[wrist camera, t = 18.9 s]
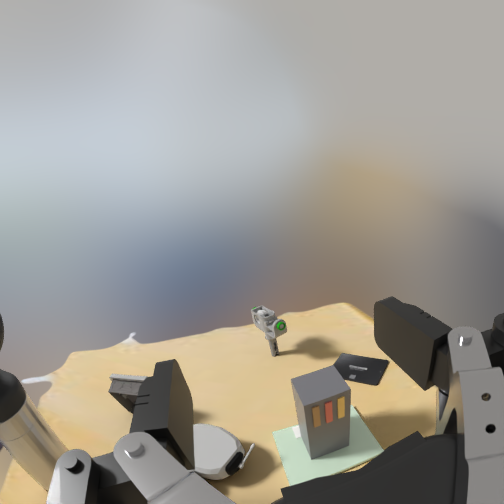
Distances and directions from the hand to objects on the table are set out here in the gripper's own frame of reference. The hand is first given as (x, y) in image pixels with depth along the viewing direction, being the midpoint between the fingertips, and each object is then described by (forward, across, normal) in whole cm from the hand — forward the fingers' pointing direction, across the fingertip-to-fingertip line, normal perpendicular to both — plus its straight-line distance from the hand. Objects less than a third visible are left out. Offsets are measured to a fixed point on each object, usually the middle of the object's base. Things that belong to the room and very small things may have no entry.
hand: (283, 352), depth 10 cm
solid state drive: (+28, -18, +30) cm, 45 cm away
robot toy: (+15, +12, +30) cm, 35 cm away
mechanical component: (+41, -5, +30) cm, 51 cm away
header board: (+14, -6, +29) cm, 33 cm away
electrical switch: (+32, +22, +30) cm, 49 cm away
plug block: (+15, -6, +29) cm, 33 cm away
